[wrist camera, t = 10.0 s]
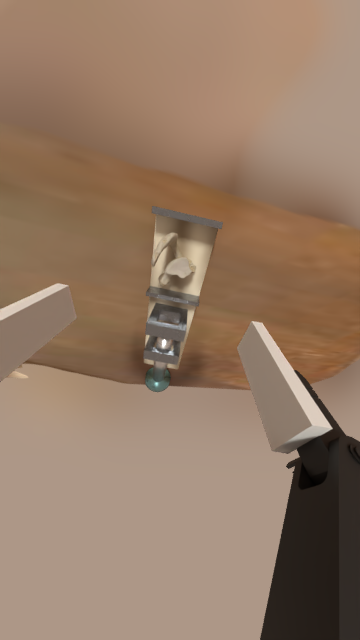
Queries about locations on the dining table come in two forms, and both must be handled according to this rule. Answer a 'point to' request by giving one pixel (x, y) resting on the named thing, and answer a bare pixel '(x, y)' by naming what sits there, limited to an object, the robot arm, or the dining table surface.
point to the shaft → (159, 369)
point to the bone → (176, 266)
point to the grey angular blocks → (167, 311)
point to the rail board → (192, 245)
